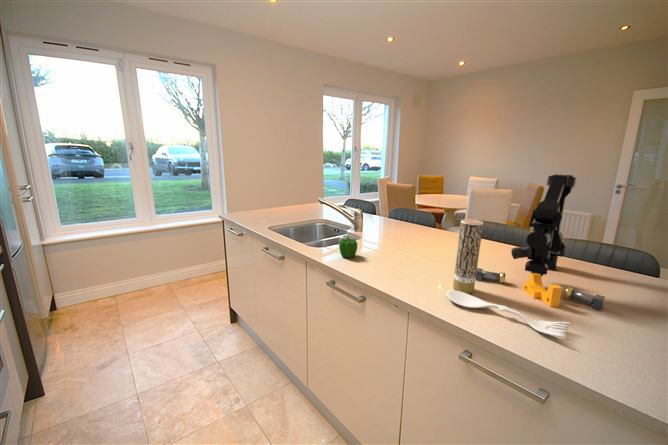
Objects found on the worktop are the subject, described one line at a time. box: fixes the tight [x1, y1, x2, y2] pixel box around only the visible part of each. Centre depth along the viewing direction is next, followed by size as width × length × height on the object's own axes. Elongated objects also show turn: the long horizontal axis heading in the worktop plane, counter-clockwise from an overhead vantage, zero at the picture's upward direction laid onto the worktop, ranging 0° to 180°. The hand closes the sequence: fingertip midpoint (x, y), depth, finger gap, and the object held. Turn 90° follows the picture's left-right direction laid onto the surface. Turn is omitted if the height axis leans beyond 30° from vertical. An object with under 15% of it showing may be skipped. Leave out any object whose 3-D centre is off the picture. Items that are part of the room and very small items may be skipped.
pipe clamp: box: [522, 272, 563, 308], centre depth 98 cm, size 12×4×6 cm, turn 177°
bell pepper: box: [338, 235, 358, 259], centre depth 135 cm, size 8×8×10 cm
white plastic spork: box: [446, 289, 572, 340], centre depth 87 cm, size 9×32×3 cm, turn 45°
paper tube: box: [452, 218, 484, 294], centre depth 101 cm, size 7×7×25 cm
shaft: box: [563, 286, 606, 312], centre depth 95 cm, size 10×4×4 cm, turn 42°
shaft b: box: [475, 267, 506, 285], centre depth 111 cm, size 10×4×4 cm, turn 62°
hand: (534, 283), depth 107 cm, fingers closed
